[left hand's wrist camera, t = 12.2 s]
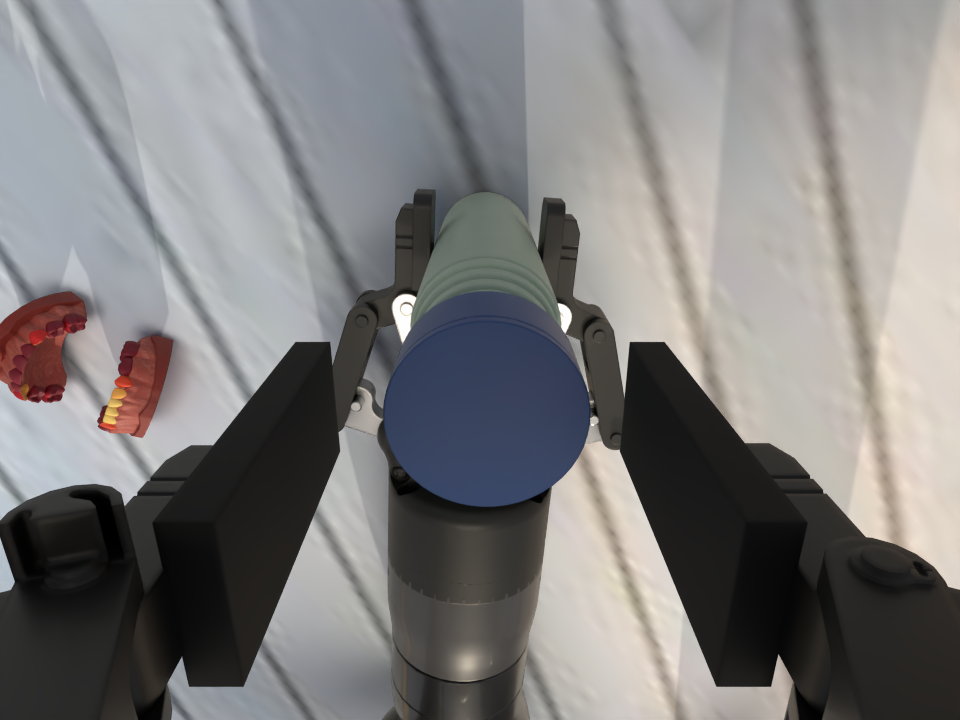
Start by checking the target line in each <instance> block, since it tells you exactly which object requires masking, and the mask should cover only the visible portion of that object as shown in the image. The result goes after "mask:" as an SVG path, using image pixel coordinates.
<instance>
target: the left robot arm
mask: <svg viewBox="0 0 960 720" xmlns="http://www.w3.org/2000/svg"><path fill="white" fill-rule="evenodd" d="M339 453H340V444H339V434H338V423H337V412H336V401H335V390H334V379H333V368H332V357H331V346H330V342H295V344H294V345H293V346H292V347H291V349H290V350H289V351H288V352H287V354H286V355H285V356H284V357H283V359H282V360H281V361H280V362H279V364H278V365H277V366H276V367H275V369H274V370H273V371H272V372H271V374H270V375H269V376H268V377H267V379H266V380H265V381H264V382H263V384H262V385H261V386H260V388H259V389H258V390H257V391H256V393H255V394H254V395H253V396H252V398H251V399H250V400H249V401H248V403H247V404H246V405H245V406H244V408H243V409H242V410H241V411H240V413H239V414H238V415H237V416H236V418H235V419H234V420H233V421H232V423H231V424H230V425H229V426H228V428H227V429H226V430H225V432H224V433H223V434H222V435H221V437H220V438H219V439H218V440H217V442H216V443H215V444H214V445H191V446H189V447H188V448H186V449H184V450H183V451H181V452H179V453H177V454H176V455H174V456H172V457H171V458H169V459H167V460H166V461H165V462H164V463H163V464H162V465H161V467H160V468H159V469H158V470H157V471H156V472H155V473H154V474H153V475H152V477H151V480H150V481H147V482H146V483H145V484H144V485H143V487H142V488H141V489H140V490H139V491H138V492H137V493H138V494H137V496H134V497H133V498H132V499H131V500H130V501H129V502H128V503H127V504H126V506H125V507H124V503H123V498H122V494H121V493H120V492H118V491H117V490H116V489H114V488H113V487H110V486H104V485H98V484H89V485H75V486H70V487H66V488H62V489H57V490H53V491H49V492H47V493H45V494H42V495H40V496H37V497H35V498H32V499H30V500H27V501H26V502H24V503H22V504H21V505H19V506H18V507H16V508H14V509H13V510H11V511H9V512H8V513H7V514H6V515H5V516H4V517H3V518H2V519H1V520H0V538H1V541H2V544H3V547H4V550H5V553H6V556H7V559H8V562H9V565H10V568H11V571H12V574H13V577H14V580H15V583H14V585H13V587H12V589H11V590H9V591H6V592H1V593H0V720H171V716H172V704H171V698H170V693H169V689H168V685H167V683H168V681H169V679H170V677H171V675H172V674H173V672H174V670H175V668H176V666H177V664H178V663H179V661H180V659H181V657H182V658H183V662H184V666H185V671H186V675H187V680H188V684H189V687H244V684H245V682H246V679H247V677H248V674H249V672H250V670H251V667H252V665H253V662H254V660H255V657H256V655H257V653H258V650H259V648H260V645H261V643H262V640H263V638H264V635H265V633H266V631H267V628H268V626H269V623H270V621H271V618H272V616H273V614H274V611H275V609H276V606H277V604H278V601H279V599H280V596H281V594H282V592H283V589H284V587H285V584H286V582H287V579H288V577H289V575H290V572H291V570H292V567H293V565H294V562H295V560H296V557H297V555H298V553H299V550H300V548H301V545H302V543H303V540H304V538H305V536H306V533H307V531H308V528H309V526H310V523H311V521H312V518H313V516H314V514H315V511H316V509H317V506H318V504H319V501H320V499H321V497H322V494H323V492H324V489H325V487H326V484H327V482H328V479H329V477H330V475H331V472H332V470H333V467H334V465H335V462H336V460H337V458H338V455H339ZM620 453H621V455H622V458H623V460H624V462H625V465H626V467H627V470H628V472H629V475H630V477H631V479H632V482H633V484H634V487H635V489H636V492H637V494H638V497H639V499H640V501H641V504H642V506H643V509H644V511H645V514H646V516H647V518H648V521H649V523H650V526H651V528H652V531H653V533H654V536H655V538H656V540H657V543H658V545H659V548H660V550H661V553H662V555H663V557H664V560H665V562H666V565H667V567H668V570H669V572H670V575H671V577H672V579H673V582H674V584H675V587H676V589H677V592H678V594H679V596H680V599H681V601H682V604H683V606H684V609H685V611H686V614H687V616H688V618H689V621H690V623H691V626H692V628H693V631H694V633H695V635H696V638H697V640H698V643H699V645H700V648H701V650H702V653H703V655H704V657H705V660H706V662H707V665H708V667H709V670H710V672H711V674H712V677H713V679H714V682H715V684H716V687H771V684H772V680H773V675H774V671H775V666H776V662H777V658H778V654H779V656H780V657H781V659H782V661H783V663H784V665H785V667H786V668H787V670H788V672H789V674H790V676H791V678H792V679H793V685H792V689H791V693H790V697H789V701H788V706H787V710H786V714H785V718H784V720H960V590H958V589H954V588H950V587H948V586H947V584H946V582H945V580H944V579H943V578H942V576H941V575H940V574H939V573H938V571H937V570H936V569H935V568H934V567H933V566H932V565H930V564H929V563H928V562H926V561H925V560H924V559H922V558H921V557H919V556H918V555H917V554H915V553H913V552H910V551H908V550H906V549H904V548H902V547H900V546H898V545H895V544H892V543H889V542H885V541H882V540H878V539H874V538H867V537H865V536H864V535H863V534H862V532H861V531H860V530H859V529H858V528H857V527H856V526H855V525H854V524H853V523H852V521H851V520H850V519H849V518H848V517H847V516H846V515H845V514H844V513H843V511H842V510H841V509H840V508H839V507H838V506H837V505H836V504H835V503H834V501H833V500H832V499H831V498H830V497H829V496H828V495H827V494H823V489H822V488H821V487H820V486H819V485H818V484H817V483H816V482H815V480H814V479H810V475H809V474H808V473H807V472H806V471H805V469H804V468H803V467H802V466H801V465H800V464H799V463H798V462H797V461H796V459H795V458H793V457H792V456H790V455H788V454H786V453H785V452H783V451H781V450H780V449H778V448H776V447H775V446H773V445H771V444H770V443H744V442H743V440H742V439H741V438H740V437H739V435H738V434H737V433H736V432H735V430H734V429H733V428H732V426H731V425H730V424H729V423H728V421H727V420H726V419H725V418H724V416H723V415H722V414H721V413H720V411H719V410H718V409H717V408H716V406H715V405H714V404H713V403H712V401H711V400H710V399H709V398H708V396H707V395H706V394H705V393H704V391H703V390H702V389H701V388H700V386H699V385H698V384H697V382H696V381H695V380H694V379H693V377H692V376H691V375H690V374H689V372H688V371H687V370H686V369H685V367H684V366H683V365H682V364H681V362H680V361H679V360H678V359H677V357H676V356H675V355H674V354H673V352H672V351H671V350H670V349H669V347H668V346H667V345H666V344H665V342H630V346H629V357H628V368H627V379H626V390H625V401H624V412H623V423H622V434H621V444H620Z"/></svg>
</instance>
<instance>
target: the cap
mask: <svg viewBox="0 0 960 720" xmlns="http://www.w3.org/2000/svg"><path fill="white" fill-rule="evenodd" d="M590 415H591V410H590V399H589V395H588V391H587V387H586V384H585V382H584V379H583V376H582V374H581V371H580V368H579V365H578V363H577V360H576V357H575V355H574V352H573V349H572V347H571V344H570V342H569V339H568V338H567V336H566V334H565V333H564V331H563V329H562V328H561V327H560V326H559V324H558V323H557V322H556V320H554V319H553V318H552V317H551V316H550V315H549V314H548V313H547V312H546V311H544V310H543V309H542V308H540V307H539V306H538V305H536V304H534V303H532V302H530V301H528V300H526V299H524V298H521V297H518V296H516V295H512V294H508V293H504V292H495V291H477V292H470V293H465V294H461V295H458V296H454V297H452V298H450V299H447V300H445V301H443V302H441V303H439V304H438V305H436V306H434V307H433V308H431V309H430V310H429V311H427V312H426V313H425V314H424V315H423V316H422V317H421V318H420V319H419V320H418V321H417V322H416V323H415V324H414V326H413V327H412V328H411V330H410V331H409V332H408V334H407V336H406V338H405V340H404V342H403V344H402V347H401V349H400V352H399V355H398V358H397V361H396V364H395V367H394V370H393V372H392V375H391V378H390V381H389V384H388V387H387V390H386V395H385V399H384V408H383V419H384V428H385V433H386V437H387V440H388V443H389V445H390V448H391V450H392V452H393V454H394V456H395V457H396V459H397V461H398V462H399V464H400V465H401V466H402V468H403V469H404V470H405V471H406V472H407V473H408V474H409V475H410V476H411V477H412V479H414V480H415V481H416V482H417V483H419V484H420V485H421V486H422V487H424V488H425V489H427V490H429V491H430V492H432V493H433V494H436V495H438V496H440V497H442V498H444V499H447V500H450V501H453V502H456V503H460V504H465V505H470V506H480V507H495V506H503V505H509V504H513V503H518V502H521V501H524V500H527V499H529V498H532V497H534V496H536V495H538V494H540V493H542V492H544V491H545V490H547V489H548V488H550V487H551V486H553V485H554V484H555V483H556V482H558V481H559V480H560V479H561V478H562V477H563V476H564V475H565V474H566V473H567V472H568V471H569V470H570V469H571V467H572V466H573V464H574V463H575V462H576V460H577V459H578V457H579V455H580V453H581V451H582V449H583V447H584V445H585V442H586V439H587V436H588V432H589V426H590Z"/></svg>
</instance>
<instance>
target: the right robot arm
mask: <svg viewBox="0 0 960 720" xmlns="http://www.w3.org/2000/svg"><path fill="white" fill-rule="evenodd" d="M435 201H436V192H435V190H427V189H418V190H417V191H416V192H415V194H414V202H413V204H409V203H405V204H404V206H403V207H402V208H401V210H400V212H399V215H398V217H397V220H396V243H395V246H396V248H395V284H394V285H392V286H391V287H389V288H386V289H383V290H379V291H374V290H368V291H365V292H363V293H362V294H361V295H360V297H359V298H358V300H357V302H356V305H355V306H354V307H353V308H352V309H351V310H350V312H349V314H348V316H347V319H346V323H345V326H344V329H343V333H342V336H341V339H340V343H339V346H338V349H337V353H336V356H335V359H334V363H333V366H332V368H333V379H334V390H335V401H336V412H337V423H338V432H339V431H341V430H342V429H343V428H344V426H346V427H349V428H352V429H356V430H359V431H362V432H365V433H368V434H371V435H375V436H377V438H378V442H379V445H380V447H381V449H382V450H383V452H384V453H385V455H386V458H387V460H388V465H389V507H388V602H389V609H390V614H391V620H392V693H393V699H394V704H395V706H394V707H393V708H391V709H390V710H389V711H388V712H387V713H386V715H385V716H384V717H383V718H382V720H530V717H529V712H528V707H527V702H526V699H525V695H524V692H523V688H522V687H523V679H524V671H525V663H526V654H527V646H528V637H529V632H530V628H531V625H532V622H533V619H534V615H535V611H536V608H537V602H538V595H539V587H540V579H541V571H542V563H543V554H544V546H545V538H546V530H547V521H548V513H549V505H550V497H551V489H552V486H551V487H550V488H548V489H547V490H545V491H544V492H542V493H540V494H538V495H536V496H534V497H532V498H529V499H527V500H524V501H521V502H518V503H513V504H509V505H503V506H495V507H480V506H470V505H465V504H460V503H456V502H453V501H450V500H447V499H444V498H442V497H440V496H438V495H436V494H433V493H432V492H430V491H429V490H427V489H425V488H424V487H422V486H421V485H420V484H419V483H417V482H416V481H415V480H414V479H412V477H411V476H410V475H409V474H408V473H407V472H406V471H405V470H404V469H403V468H402V466H401V465H400V464H399V462H398V461H397V459H396V457H395V456H394V454H393V452H392V450H391V448H390V445H389V443H388V440H387V437H386V433H385V428H384V419H383V409H382V408H381V407H379V405H378V404H377V402H376V399H375V395H376V389H375V386H374V385H373V383H372V382H370V381H369V380H366V379H363V375H364V372H365V369H366V366H367V363H368V360H369V357H370V354H371V350H372V347H373V344H374V341H375V338H376V335H377V332H378V329H379V328H382V327H385V326H389V325H393V324H396V326H397V329H398V332H399V335H400V338H401V342H402V344H403V342H404V340H405V338H406V336H407V334H408V332H409V331H410V321H411V314H412V309H413V306H414V303H415V300H416V297H417V294H418V291H419V289H420V286H421V283H422V280H423V277H424V274H425V272H426V269H427V266H428V263H429V260H430V258H431V255H432V252H433V249H434V230H435ZM579 237H580V232H579V228H578V224H577V221H576V219H575V218H574V217H573V215H572V214H565V203H564V201H563V200H562V199H559V198H544V199H543V204H542V213H541V223H540V233H539V244H538V253H539V255H540V258H541V260H542V263H543V266H544V268H545V271H546V274H547V276H548V279H549V282H550V284H551V287H552V290H553V292H554V295H555V297H556V300H557V303H558V306H559V310H560V314H561V322H562V329H563V331H564V333H565V334H567V335H569V336H572V337H574V338H576V339H579V340H580V343H581V349H582V355H583V360H584V366H585V371H586V377H587V382H588V388H589V392H588V395H589V399H590V410H591V415H590V426H589V432H588V436H587V439H586V442H585V444H588V443H593V442H598V441H603V444H604V445H605V446H606V447H607V448H609V449H611V450H619V449H620V444H621V434H622V423H623V412H624V401H625V399H624V393H623V387H622V380H621V374H620V368H619V361H618V355H617V349H616V342H615V336H614V331H613V329H612V327H611V325H610V323H609V322H608V320H607V318H606V317H605V315H604V313H603V311H602V310H601V308H599V307H598V306H596V305H593V304H589V305H588V304H586V303H583V302H581V301H579V300H577V299H575V298H574V297H573V287H574V279H575V270H576V262H577V254H578V245H579Z"/></svg>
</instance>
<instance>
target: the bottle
mask: <svg viewBox="0 0 960 720" xmlns="http://www.w3.org/2000/svg"><path fill="white" fill-rule="evenodd" d="M477 291H495V292H504V293H508V294H512V295H516V296H518V297H521V298H524V299H526V300H528V301H530V302H532V303H534V304H536V305H538V306H539V307H540V308H542V309H543V310H544V311H546V312H547V313H548V314H549V315H550V316H551V317H552V318H553V319H554V320H556V322H557V323H558V324H559V326H560V327H561V328H562V322H561V314H560V310H559V306H558V303H557V300H556V297H555V295H554V292H553V290H552V287H551V284H550V282H549V279H548V276H547V274H546V271H545V268H544V266H543V263H542V260H541V258H540V255H539V253H538V250H537V247H536V245H535V242H534V239H533V237H532V234H531V231H530V229H529V226H528V223H527V221H526V218H525V216H524V214H523V213H522V211H521V210H520V209H519V207H518V206H517V205H516V204H515V203H514V202H512V201H511V200H510V199H508V198H506V197H504V196H502V195H500V194H496V193H491V192H479V193H474V194H470V195H468V196H466V197H464V198H462V199H460V200H459V201H458V202H457V203H455V204H454V205H453V206H452V207H451V208H450V210H449V211H448V213H447V214H446V216H445V218H444V221H443V224H442V226H441V229H440V232H439V235H438V238H437V241H436V243H435V246H434V249H433V252H432V255H431V258H430V260H429V263H428V266H427V269H426V272H425V274H424V277H423V280H422V283H421V286H420V289H419V291H418V294H417V297H416V300H415V303H414V306H413V309H412V314H411V321H410V330H411V328H412V327H413V326H414V324H415V323H416V322H417V321H418V320H419V319H420V318H421V317H422V316H423V315H424V314H425V313H426V312H427V311H429V310H430V309H431V308H433V307H434V306H436V305H438V304H439V303H441V302H443V301H445V300H447V299H450V298H452V297H454V296H458V295H461V294H465V293H470V292H477Z"/></svg>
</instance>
